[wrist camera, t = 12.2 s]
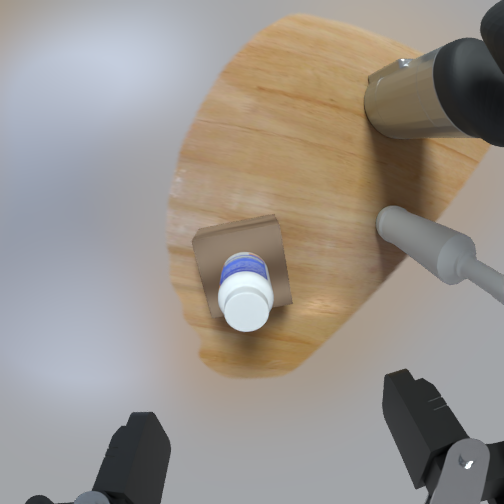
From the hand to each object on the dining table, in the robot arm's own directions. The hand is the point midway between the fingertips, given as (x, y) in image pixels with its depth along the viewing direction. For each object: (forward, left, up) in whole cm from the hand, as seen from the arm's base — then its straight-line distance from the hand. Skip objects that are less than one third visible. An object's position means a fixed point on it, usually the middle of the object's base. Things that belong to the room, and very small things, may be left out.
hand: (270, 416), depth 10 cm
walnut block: (+5, -2, -33) cm, 33 cm away
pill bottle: (+5, -2, -27) cm, 28 cm away
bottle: (+4, +19, -33) cm, 39 cm away
